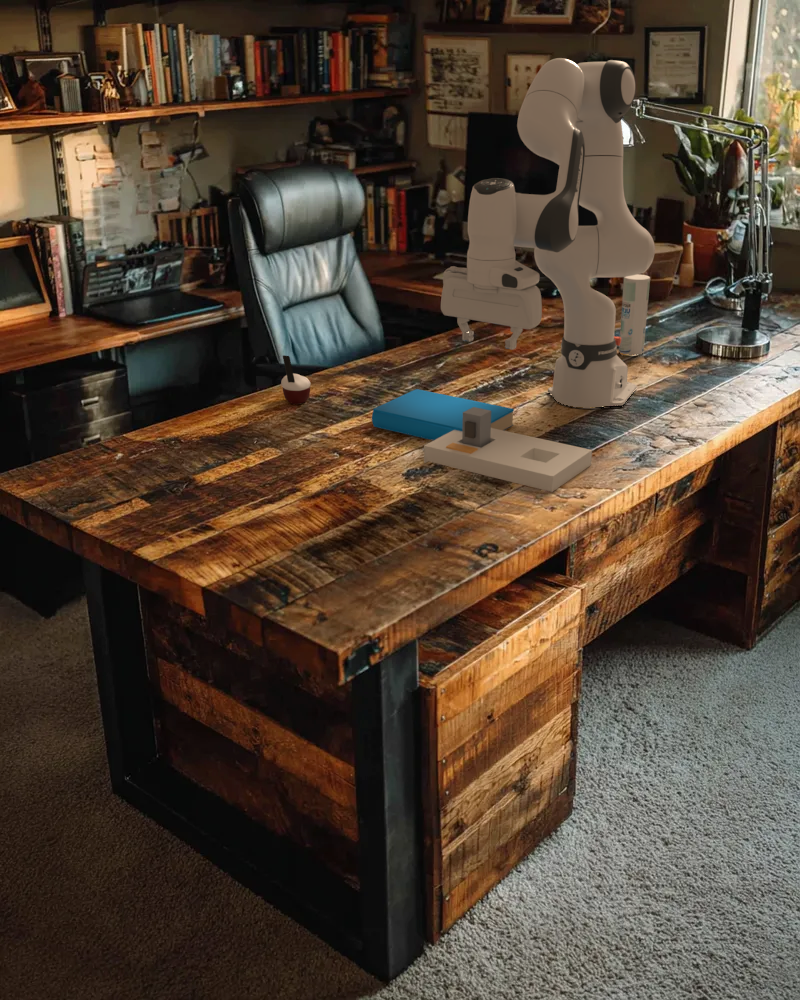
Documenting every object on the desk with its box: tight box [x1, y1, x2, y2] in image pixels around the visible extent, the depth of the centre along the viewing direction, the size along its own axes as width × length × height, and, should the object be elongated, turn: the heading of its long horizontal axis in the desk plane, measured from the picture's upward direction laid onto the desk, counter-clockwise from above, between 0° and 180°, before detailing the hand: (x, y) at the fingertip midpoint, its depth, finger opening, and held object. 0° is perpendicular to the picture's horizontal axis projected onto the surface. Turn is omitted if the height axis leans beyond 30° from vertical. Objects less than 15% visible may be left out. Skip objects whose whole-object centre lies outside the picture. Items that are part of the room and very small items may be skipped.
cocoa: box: [280, 354, 312, 405], centre depth 246 cm, size 10×6×12 cm, turn 140°
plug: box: [462, 407, 491, 448], centre depth 212 cm, size 5×4×9 cm
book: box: [371, 388, 515, 441], centre depth 230 cm, size 17×4×25 cm
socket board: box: [423, 428, 593, 493], centre depth 210 cm, size 16×28×4 cm, turn 55°
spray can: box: [618, 274, 651, 355], centre depth 279 cm, size 6×6×20 cm
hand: (489, 344), depth 206 cm, fingers open, 8 cm apart
